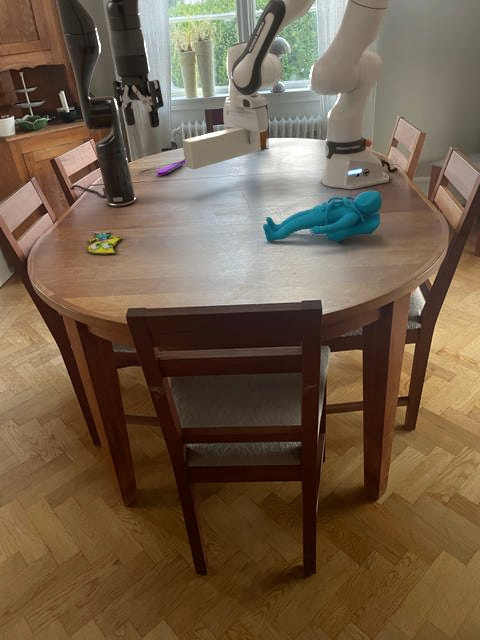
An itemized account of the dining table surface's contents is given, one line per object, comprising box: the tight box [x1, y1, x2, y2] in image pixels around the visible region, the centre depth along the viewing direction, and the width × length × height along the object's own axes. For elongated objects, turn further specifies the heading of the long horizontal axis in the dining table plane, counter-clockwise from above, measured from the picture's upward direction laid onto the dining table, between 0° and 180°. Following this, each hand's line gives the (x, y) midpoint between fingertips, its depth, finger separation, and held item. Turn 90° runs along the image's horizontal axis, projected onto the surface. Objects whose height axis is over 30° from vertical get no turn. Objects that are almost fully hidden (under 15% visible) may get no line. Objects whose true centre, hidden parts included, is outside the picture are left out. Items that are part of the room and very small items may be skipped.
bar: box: [181, 127, 262, 170], centre depth 160 cm, size 28×5×8 cm, turn 128°
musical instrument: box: [138, 158, 185, 177], centre depth 196 cm, size 24×2×20 cm
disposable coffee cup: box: [260, 129, 268, 150], centre depth 210 cm, size 10×10×12 cm
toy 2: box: [262, 190, 383, 243], centre depth 124 cm, size 17×11×30 cm
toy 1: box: [87, 230, 123, 255], centre depth 134 cm, size 10×1×15 cm
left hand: (143, 126), depth 120 cm, fingers open, 8 cm apart
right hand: (246, 142), depth 165 cm, fingers closed on bar, 5 cm apart
